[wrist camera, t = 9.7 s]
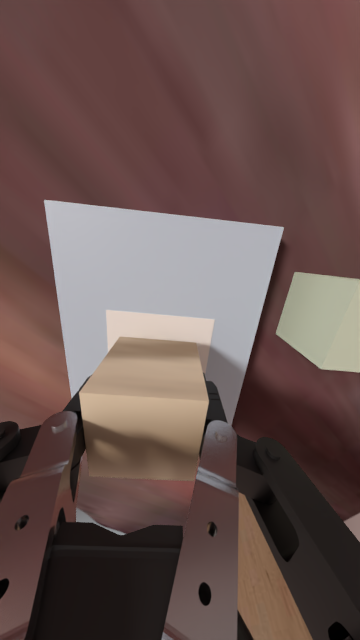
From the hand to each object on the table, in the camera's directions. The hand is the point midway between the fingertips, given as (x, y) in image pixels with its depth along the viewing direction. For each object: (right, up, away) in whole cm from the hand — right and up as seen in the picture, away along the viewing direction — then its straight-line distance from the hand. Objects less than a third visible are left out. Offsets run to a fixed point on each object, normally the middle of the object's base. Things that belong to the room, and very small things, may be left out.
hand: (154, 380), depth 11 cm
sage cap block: (+12, +5, +3) cm, 14 cm away
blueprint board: (0, +1, +4) cm, 4 cm away
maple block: (0, 0, +1) cm, 1 cm away
